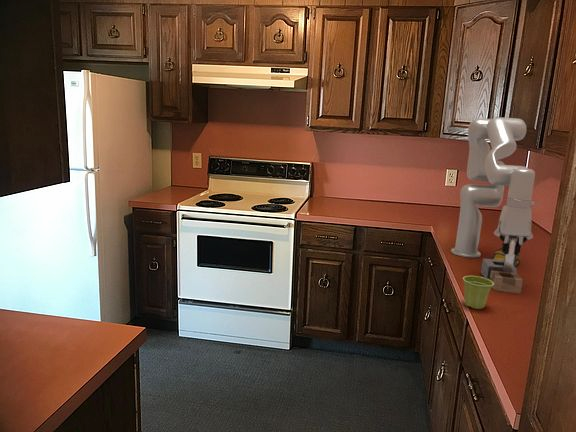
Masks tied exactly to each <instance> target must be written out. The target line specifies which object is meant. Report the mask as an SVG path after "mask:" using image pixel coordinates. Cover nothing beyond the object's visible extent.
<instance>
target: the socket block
mask: <svg viewBox="0 0 576 432" xmlns="http://www.w3.org/2000/svg"><path fill="white" fill-rule="evenodd" d="M503 268H504V261H503V260H493V259H490V258H482V262H481V269H480V274H481V273H482V274H481V275H483V276H484V277H483V276H482V277H483V278H486V279H489V280H490V274H491V270H492V271H501V272H504V271H503ZM517 270H518V269H517V267H516V266H515V267H514V265H513V269H512V273H517Z"/></svg>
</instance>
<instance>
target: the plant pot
mask: <svg viewBox="0 0 576 432" xmlns="http://www.w3.org/2000/svg"><path fill="white" fill-rule="evenodd" d="M462 280H463V284H464V305H465V306H467V307H470V308H472V309H475V310H476V309H477V310H481V309H482V310H483V309H484V308H485V307H486V304H487V300H488V297H489V294H490V291H491V290H492V286H493V285H494V283H493V282H492V281H491V280H489V279H486V278H484V277H483V276H476V275H465V276H463V277H462Z"/></svg>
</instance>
